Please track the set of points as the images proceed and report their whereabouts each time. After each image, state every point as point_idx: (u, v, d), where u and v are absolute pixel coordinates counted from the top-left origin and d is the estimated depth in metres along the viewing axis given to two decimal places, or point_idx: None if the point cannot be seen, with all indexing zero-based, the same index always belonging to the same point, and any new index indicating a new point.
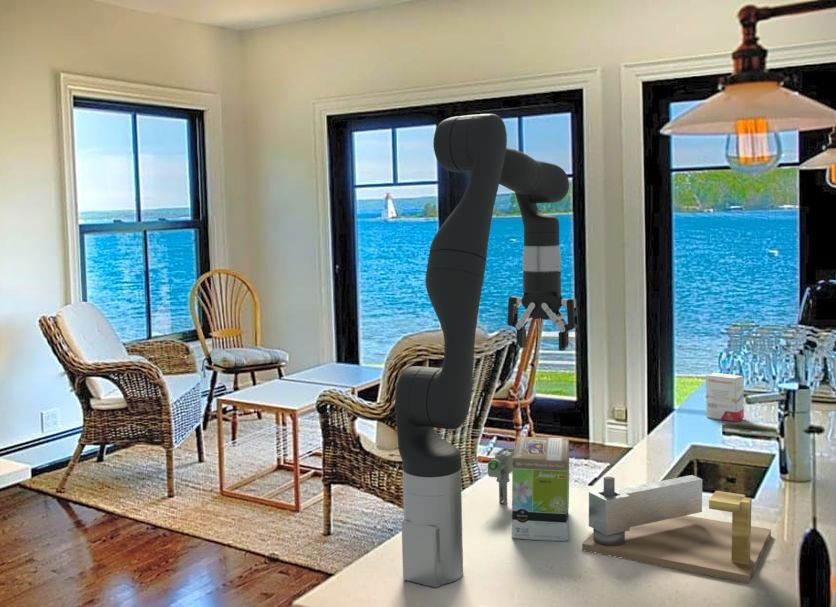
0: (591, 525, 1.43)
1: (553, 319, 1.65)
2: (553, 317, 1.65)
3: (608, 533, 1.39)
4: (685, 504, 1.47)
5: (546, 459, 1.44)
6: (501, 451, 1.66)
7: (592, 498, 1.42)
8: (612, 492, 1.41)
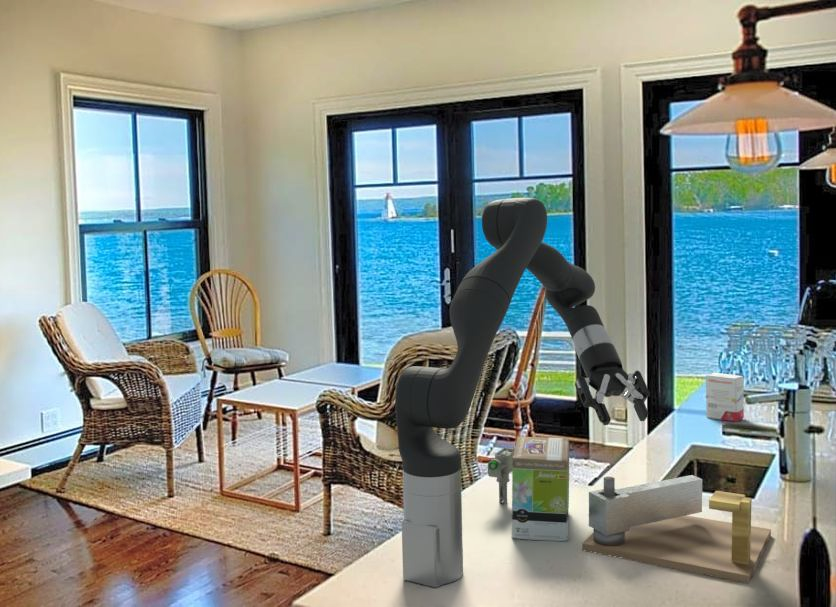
0: (591, 525, 1.43)
1: (630, 387, 1.65)
2: (629, 385, 1.65)
3: (608, 533, 1.39)
4: (685, 504, 1.47)
5: (546, 459, 1.44)
6: (501, 451, 1.66)
7: (592, 498, 1.42)
8: (612, 492, 1.41)
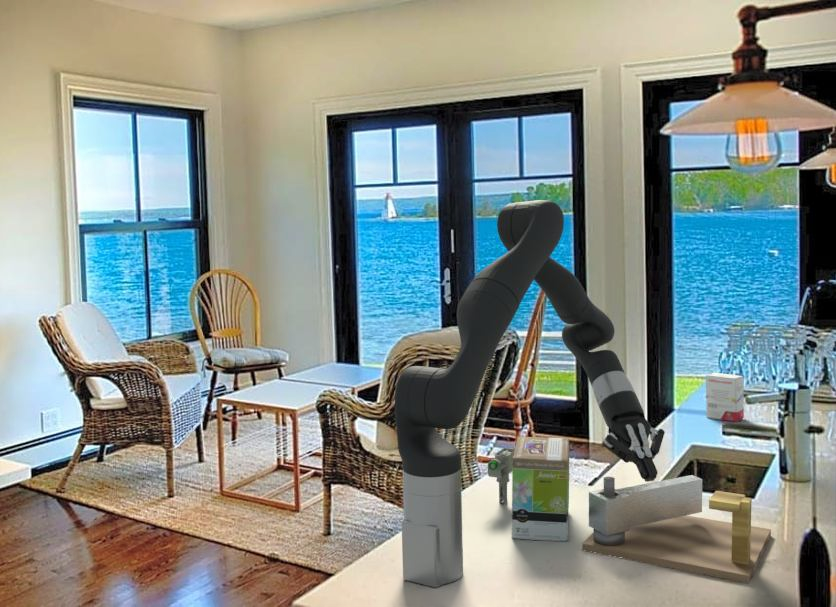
0: (591, 525, 1.43)
1: (645, 441, 1.57)
2: (645, 439, 1.57)
3: (608, 533, 1.39)
4: (685, 504, 1.47)
5: (546, 459, 1.44)
6: (501, 451, 1.66)
7: (592, 498, 1.42)
8: (612, 492, 1.41)
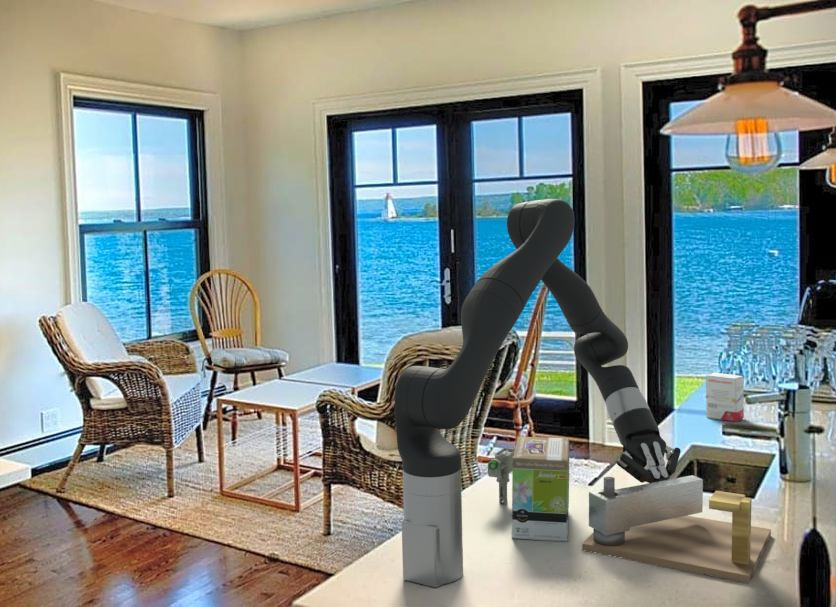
0: (591, 525, 1.43)
1: (660, 460, 1.52)
2: (661, 459, 1.52)
3: (608, 533, 1.39)
4: (685, 504, 1.47)
5: (546, 459, 1.44)
6: (501, 451, 1.66)
7: (592, 498, 1.42)
8: (612, 492, 1.41)
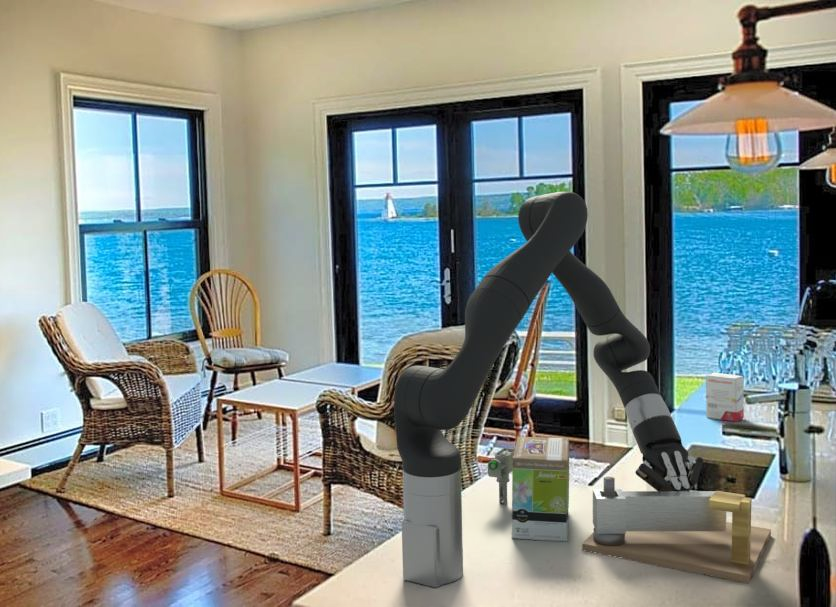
0: (593, 522, 1.44)
1: (682, 471, 1.46)
2: (682, 469, 1.46)
3: (599, 532, 1.40)
4: (703, 520, 1.40)
5: (546, 459, 1.44)
6: (501, 451, 1.66)
7: (593, 495, 1.43)
8: (612, 492, 1.41)
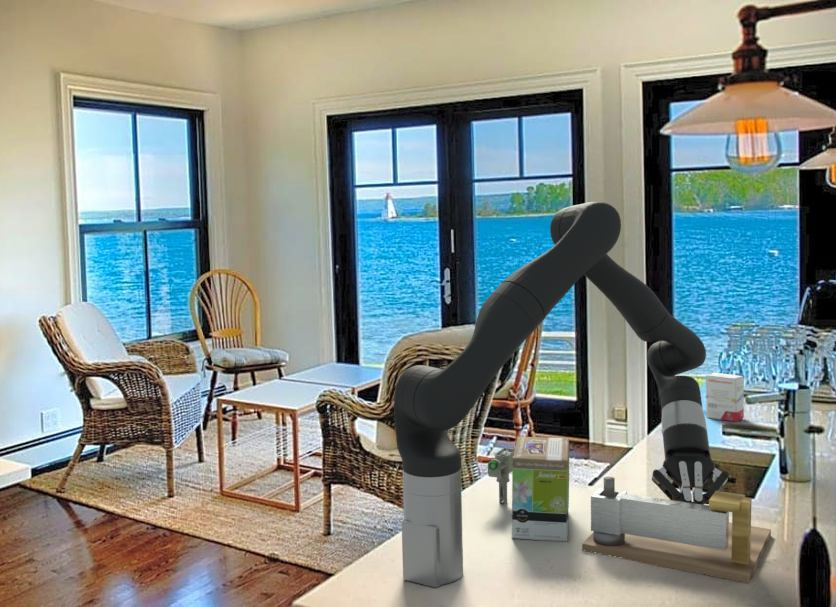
0: None
1: (697, 482, 1.40)
2: (699, 481, 1.40)
3: (593, 529, 1.41)
4: (701, 534, 1.33)
5: (546, 459, 1.44)
6: (501, 451, 1.66)
7: None
8: (612, 492, 1.41)
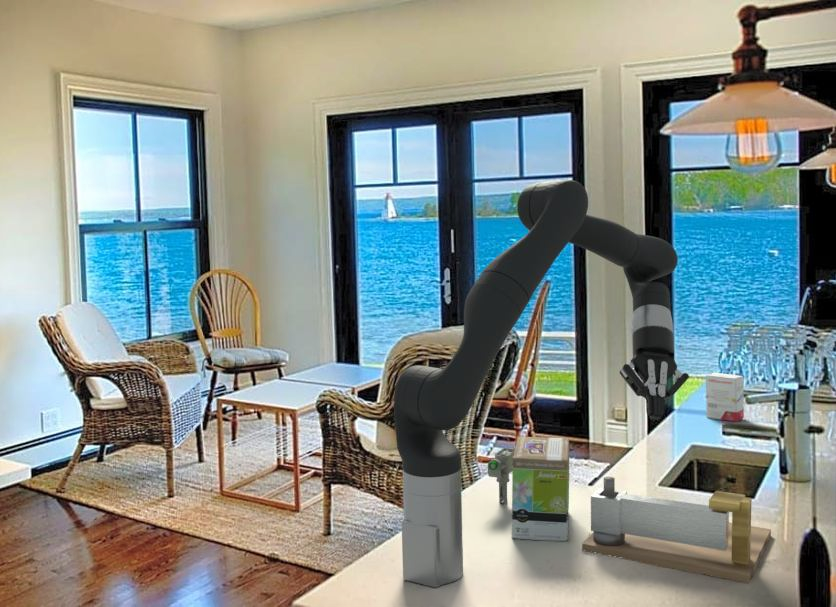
0: None
1: (662, 380, 1.53)
2: (663, 379, 1.53)
3: (593, 529, 1.41)
4: (701, 534, 1.33)
5: (546, 459, 1.44)
6: (501, 451, 1.66)
7: None
8: (612, 492, 1.41)
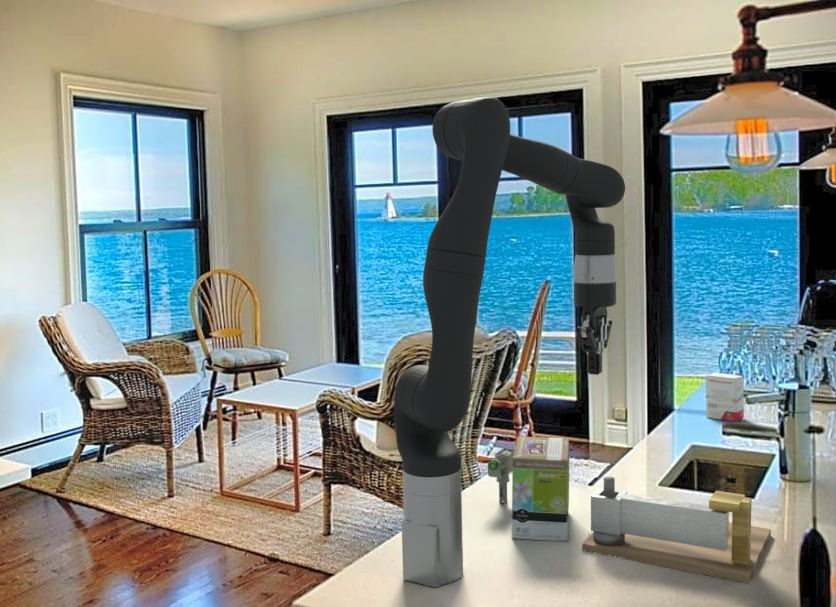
0: None
1: (605, 336, 1.53)
2: (605, 334, 1.53)
3: (593, 529, 1.41)
4: (701, 534, 1.33)
5: (546, 459, 1.44)
6: (501, 451, 1.66)
7: None
8: (612, 492, 1.41)
